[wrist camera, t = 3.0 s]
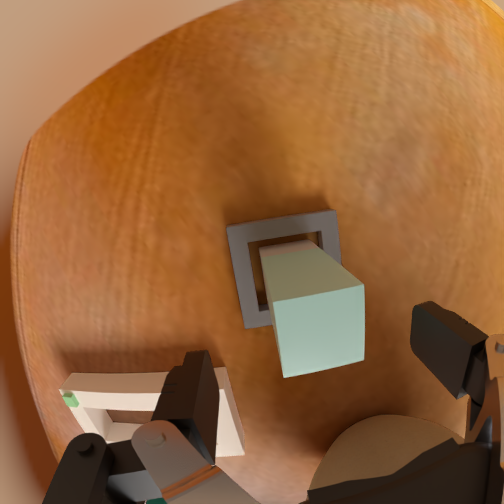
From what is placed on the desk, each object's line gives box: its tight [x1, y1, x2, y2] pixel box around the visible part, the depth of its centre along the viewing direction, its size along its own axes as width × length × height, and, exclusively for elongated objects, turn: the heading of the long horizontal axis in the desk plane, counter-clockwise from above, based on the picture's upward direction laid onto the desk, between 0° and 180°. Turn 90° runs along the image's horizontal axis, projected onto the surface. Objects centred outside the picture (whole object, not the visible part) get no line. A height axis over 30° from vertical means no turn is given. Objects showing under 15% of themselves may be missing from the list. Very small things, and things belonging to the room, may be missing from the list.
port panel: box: [59, 367, 245, 457], centre depth 22 cm, size 16×9×4 cm, turn 99°
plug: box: [259, 239, 365, 378], centre depth 16 cm, size 4×4×10 cm
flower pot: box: [306, 415, 465, 500], centre depth 19 cm, size 18×18×12 cm
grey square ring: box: [226, 209, 342, 329], centre depth 20 cm, size 7×7×1 cm
